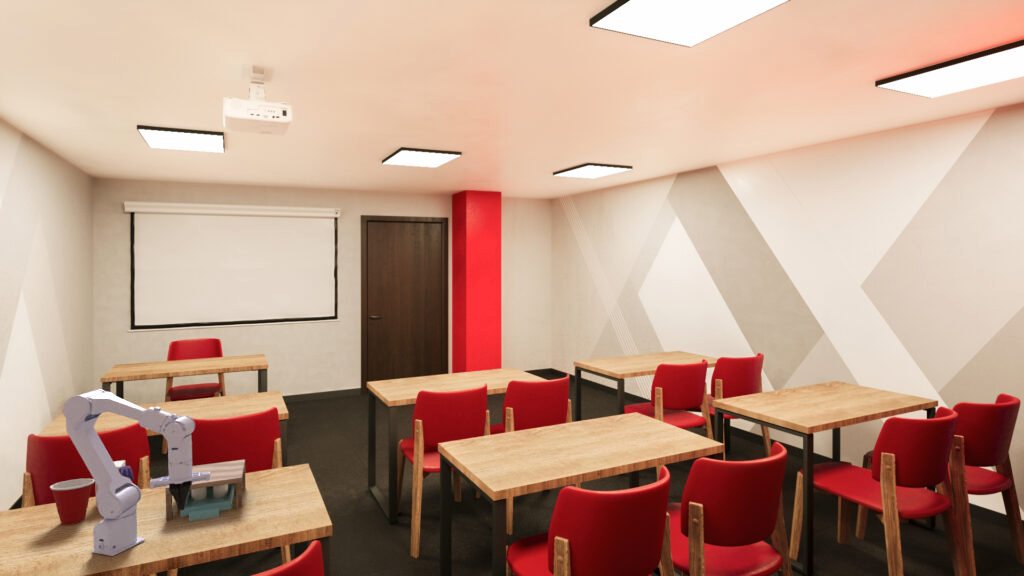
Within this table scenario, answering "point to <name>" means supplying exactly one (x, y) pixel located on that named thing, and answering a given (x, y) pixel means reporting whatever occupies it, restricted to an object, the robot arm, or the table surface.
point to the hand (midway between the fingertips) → (181, 509)
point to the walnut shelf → (215, 480)
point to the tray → (208, 502)
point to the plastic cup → (72, 499)
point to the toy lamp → (126, 472)
